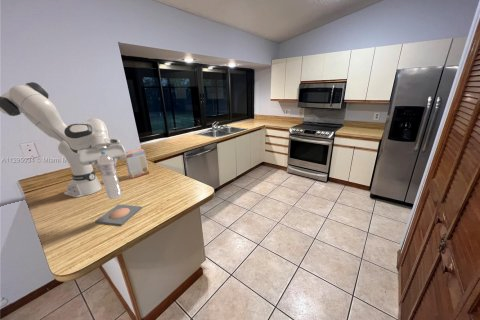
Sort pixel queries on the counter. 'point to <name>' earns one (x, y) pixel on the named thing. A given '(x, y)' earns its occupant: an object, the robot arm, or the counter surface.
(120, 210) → the spot mat
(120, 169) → the counter surface
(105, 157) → the water bottle
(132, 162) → the cracker box
